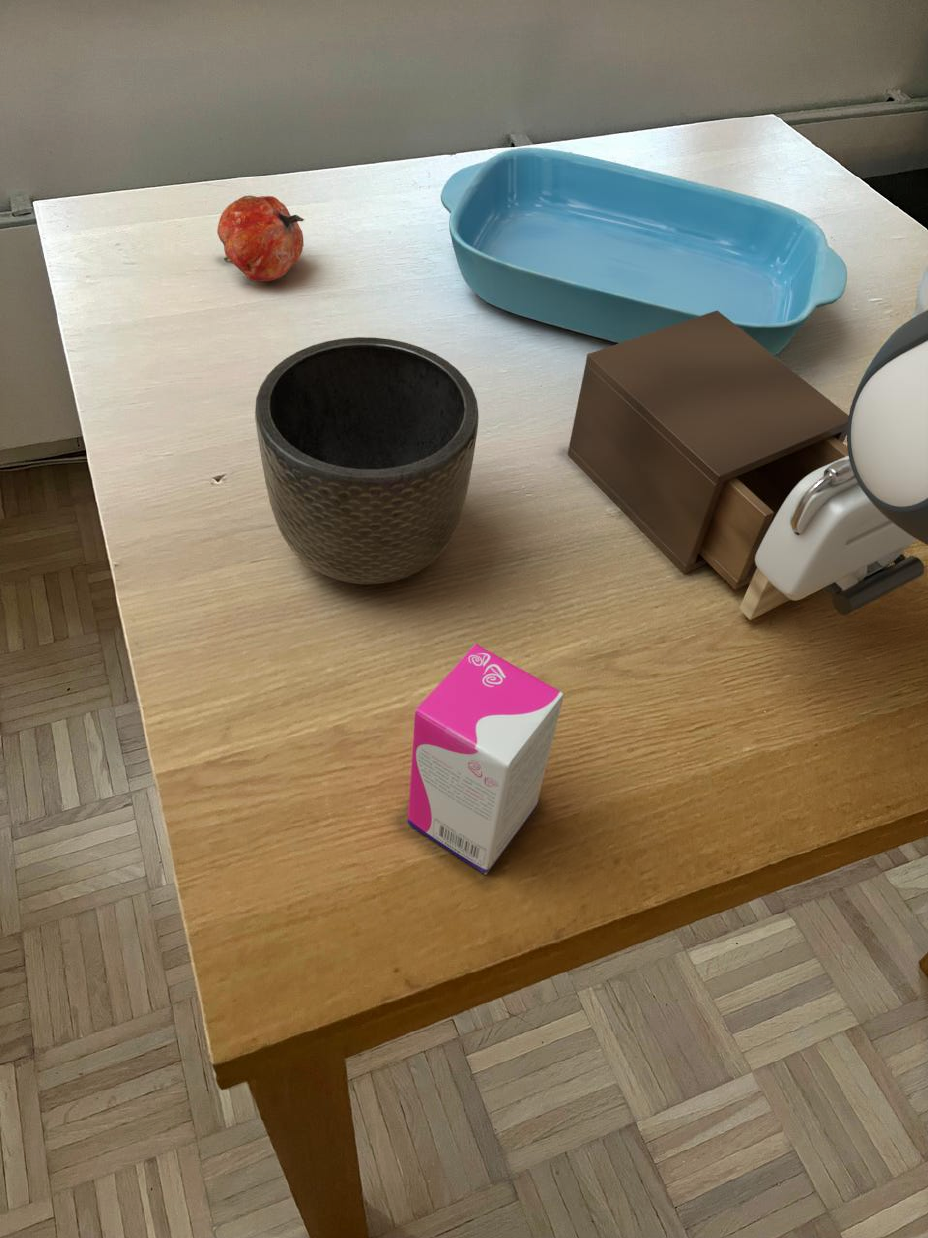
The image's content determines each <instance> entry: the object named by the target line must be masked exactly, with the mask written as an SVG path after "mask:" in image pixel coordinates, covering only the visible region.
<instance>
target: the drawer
mask: <svg viewBox="0 0 928 1238" xmlns="http://www.w3.org/2000/svg"><path fill="white" fill-rule="evenodd" d="M846 456H848V449H847V445H846V444H844V442H843V443H841V442H840V441H839V440H838V439H837V438H835V437H834V436H830V437H828V438H826V439H823V440H821V441H819V442H816V443H814V444H812V445H809V446H807V447H805V448H802V449H800V450H798V451H795V452H793V453H791V454H788V455H786V456H784V457H781V458H779V459H777V460H774V461H772V462H769V463H767V464H765V465H762V466H760V467H758V468H755V469H753V470H751V471H748V472H746V473H744V474H741V475H739V476H737V477H734V478H732V479H730V480H727V481H725V482H724V485H723V488H722V490H721V493H720V496H719V498H718V501H717V504H716V507H715V509H714V512H713V515H712V517H711V520H710V523H709V526H708V528H707V531H706V534H705V537H704V539H703V542H702V545H701V547H700V550H699V554H700V555H701V556H702V557H703V558H704V559H705V560H706V561H707V562H708V565H709V566H710V567H712V568H713V570H715V571H716V572H717V574H718V575H719V576H721V577H722V579H723V580H725V581H726V582H727V583H728V585H730V587H732V588H733V589H734V590H737V589H738V588H741V587H743V586H745V585H747V584H749V585H748V588H747V590H746V592H745V594H744V596H743V598H742V601H741V604H739V605H740V606H739V611H741V613H742V614H743V615H744V616H746V618H747V619H748V620H749V621H751V620H753V619H756V618H757V617H759V616H761V615H763V614H766V613H767V612H769V611H771V610H773V609H775V608H777V607H779V606H781V605H783V604H785V603H787V602H789V601H792V600H791V599H789V598H787V597H786V596H785V595H784V594H783V593H781V592H780V591H779V590H778V589H777V588H775V587H774V586H773V585H772V584H771V583H770V582H769V581H768V580H767V579H766V578H765V577H764V575H763V574H762V573H761V572H760V571H759V569H758V568H757V566H756V563H755V556H756V553H757V551H758V549H759V547H760V544H761V542H762V541H763V539H764V537H765V535H766V533H767V531H768V529H769V527H770V525H771V524H772V522H773V520H774V518H775V516H776V515H777V513H778V511H779V510H780V508H781V506H782V504H783V503H784V501H785V500H786V498H787V497H788V495H789V494H790V492H791V491H792V490H793V489H794V487H795V486H796V485H797V484H798V483H799V482H800V481H801V480H802V479H803V478H805V477H806V476H807V475H809V474H810V473H812V472H813V471H815V470H817V469H819V468H821V467H823V466H826V465H828V464H830V463H832V462H835V461H837V460H839V459H841V458H844V457H846ZM924 573H925V565H924V563H923V561H922V560H921V559H920V558H919V557H917V556H914V555H910V556H907V557H906V556H905V555H904V554H903V553H902V554H901V555H900V556H899V557H898V558H896V559H895V560H894V561H893V562H892V564H891V565H889V566H888V568H886V569H884V570H882V571H880V572H878V573H876V574H874V575H872V576H870V577H868V578H866V579H864V580H863V581H861V582H859V583H857V584H855V585H853V586H851V587H849V588H847V589H845V590H843V589H842V588H841V587H840V586H839V585H838V584H837V583H835V582H834V583H832V584H830V585H828V586H826V587H824V588H822V589H823V590H824V591H825V592H826V593H827V594H828V595H829V596H830V597H832V606H833V608H834V610H835V611H836V612H837V613H838V614H839V615H842V616H848V615H850V614H852V613H854V612H855V611H858V610H860V609H861V608H863V607H865V606H867V605H869V604H871V603H873V602H875V601H877V600H879V599H881V598H882V597H884V596H886V595H888V594H890V593H892V592H894V591H895V590H898V589H899V588H901V587H904V586H905V585H907V584H909V583H911V582H913V581H915V580H917V579H919V578H920V577H922V576H923V575H924ZM842 590H843V591H842Z"/></svg>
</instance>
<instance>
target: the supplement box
mask: <svg viewBox="0 0 928 1238" xmlns="http://www.w3.org/2000/svg"><path fill="white" fill-rule="evenodd" d="M564 697H565V693H564V692H562V691H561V690H559V689H557V688H555V687H554V686H551V684H548V683H547V682H545V681H543V680H542V679H540V678H537V677H535V676H534V675H532V674H530V673H529V672H527V671H525V670H523V669H522V668H520V667H518V666H516V665H514V664H513V663H511V662H509V661H508V660H505V659H503V658H502V657H501V656H498V655H497V654H495V653H494V652H491V651H489V650H488V649H486V648H484V647H483V646H481V645H479V644H478V643H475V644H474V645H473V646H472V647H471V648H470V649H469V650H468V651H467V652H466V654H465V655H464V656H463V657H462V658H461V659H460V660H459V661H458V663H457V664H456V665H455V666H454V667H453V668H452V670H451V671H450V672H449V673H448V674H447V675H446V676H445V677H444V678H443V679H442V680H441V681H440V682H439V684H437V686H436V687H435V688H434V689H433V690H432V691H431V692H430V693H429V694H428V696H426V698H425V699H424V700H423V701H422V702H421V703H420V704H419V705H417V707H416V708H415V710H414V719H413V720H414V722H413V737H412V751H411V764H410V765H411V766H410V779H409V780H410V781H409V798H408V807H407V808H408V810H407V824H408V826H410V827H411V828H412V829H414V830H415V831H417V832H419V833H420V834H421V835H423V836H425V837H426V838H428V839H429V840H431V841H432V842H434V843H435V844H437V845H439V846H440V847H442V849H444V850H446V851H448V852H449V853H451V854H452V855H454V856H456V857H457V858H458V859H460V860H461V861H463V862H465V863H466V864H467V865H469V866H471V867H473V868H474V869H476V870H477V871H478V872H479V873H481V874H483V875H484V876H486V875H488V873H489V872H490V870H491V869H492V868H493V867H494V866H495V864H496V862H497V861H498V860H499V858H500V857H501V856H502V854H503V853H504V852H505V851H506V849H507V848H508V846H509V845H510V844H511V842H512V841H513V840H514V838H515V837H516V835H517V834H518V833H519V832H520V830H521V829H522V828H523V826H524V825H525V823H526V822H527V821H528V819H529V818H530V817H531V815H532V814H533V813H534V811H535V810H536V808H537V807H538V802H539V798H540V795H541V789H542V785H543V781H544V777H545V773H546V770H547V765H548V761H549V758H550V752H551V750H552V745H553V741H554V737H555V733H556V728H557V725H558V721H559V717H560V713H561V709H562V705H563V701H564Z"/></svg>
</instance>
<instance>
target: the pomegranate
mask: <svg viewBox="0 0 928 1238" xmlns="http://www.w3.org/2000/svg"><path fill="white" fill-rule="evenodd" d="M305 220H306V219H305V218H303V217H300V216H299V215H298V214H292V215H291V213H290V211H289V210H288V208H287V206H286V205H285V204H284V203H283V202H281V201H280V200H279V199H278V198H276V197H275V196H273V195H272V196H271V195H261V196H260V195H259V196H256V195H251V194H249V195H243V196H242V197H240V198H238V199H236V200H234V201H233V202H232V203H230V204H228V205H227V206H226V208H225V209H224V210H223V211H222V213H221V215H220V218H219V220H218V225H217V230H216V232H217V236H218V238H219V240H220V242H221V243H222V244H223V251H224V254H225V257H224V258H223V260H224V262H227V261H228V260H229V262H231V263H232V264H233V266H235V267H236V268H237V269H238V270H239V271H240V272H242V273H243V274H244V275H245V276H246V278H247V279H248V280H251V281H255V282H270V281H276V280H278V279H280V278H282V277H284V276H285V275H286V274H287V273H288V272H289V271H290V269H291V268H292V267H293V266H294V265H295V264H297V262H298V261H299V260H300V257H301V255H302V254H303V249H304V234H303V230H302V229H301V227H300V225H299V222H303V221H305Z"/></svg>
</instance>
